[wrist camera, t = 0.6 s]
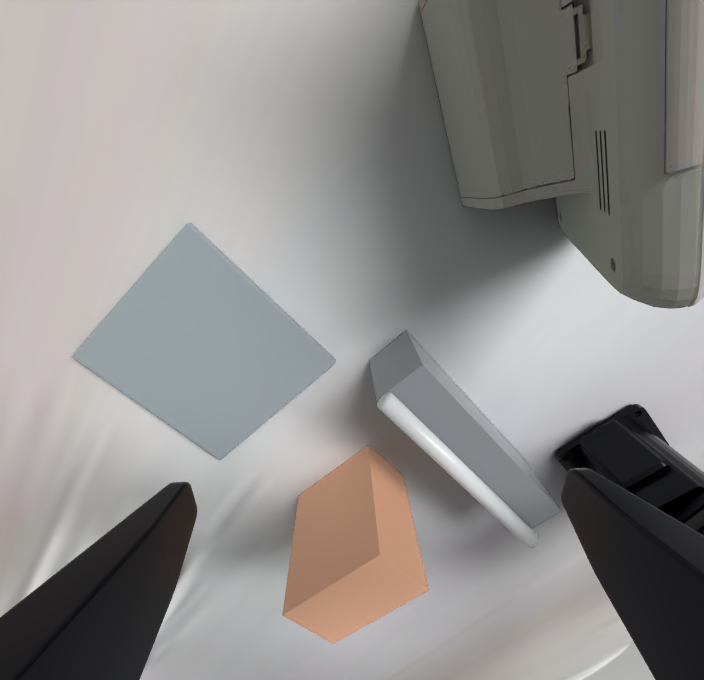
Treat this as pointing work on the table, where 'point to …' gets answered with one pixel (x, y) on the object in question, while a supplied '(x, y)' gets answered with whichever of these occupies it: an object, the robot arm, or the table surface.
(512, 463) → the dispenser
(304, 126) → the table surface
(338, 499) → the peach rectangular block
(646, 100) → the digital clock
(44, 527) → the table surface
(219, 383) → the mat
